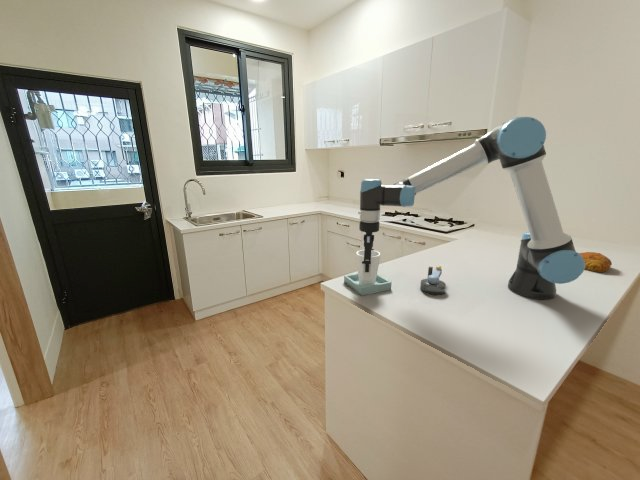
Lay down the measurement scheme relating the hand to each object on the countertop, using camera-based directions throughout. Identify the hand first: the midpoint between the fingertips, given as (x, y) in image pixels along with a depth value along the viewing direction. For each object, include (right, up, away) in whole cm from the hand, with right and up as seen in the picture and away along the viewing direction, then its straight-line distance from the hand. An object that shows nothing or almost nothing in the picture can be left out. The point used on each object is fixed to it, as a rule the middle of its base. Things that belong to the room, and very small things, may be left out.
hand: (367, 272), depth 118 cm
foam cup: (0, -5, +1) cm, 5 cm away
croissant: (+108, 0, +22) cm, 110 cm away
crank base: (+25, -6, -1) cm, 25 cm away
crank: (+27, -2, 0) cm, 27 cm away
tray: (0, -5, +1) cm, 6 cm away
